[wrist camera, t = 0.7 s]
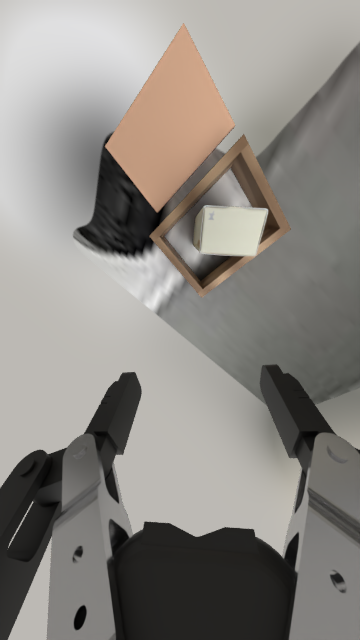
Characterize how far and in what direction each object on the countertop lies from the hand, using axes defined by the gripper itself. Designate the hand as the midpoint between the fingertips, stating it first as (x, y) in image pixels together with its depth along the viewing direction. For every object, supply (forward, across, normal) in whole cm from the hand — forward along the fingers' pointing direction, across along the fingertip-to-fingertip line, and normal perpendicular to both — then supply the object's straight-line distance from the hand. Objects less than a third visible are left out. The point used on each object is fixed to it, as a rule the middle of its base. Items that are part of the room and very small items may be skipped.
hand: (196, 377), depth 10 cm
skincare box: (+23, -4, -7) cm, 25 cm away
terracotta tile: (+23, +1, -19) cm, 30 cm away
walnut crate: (+23, -4, -7) cm, 25 cm away
